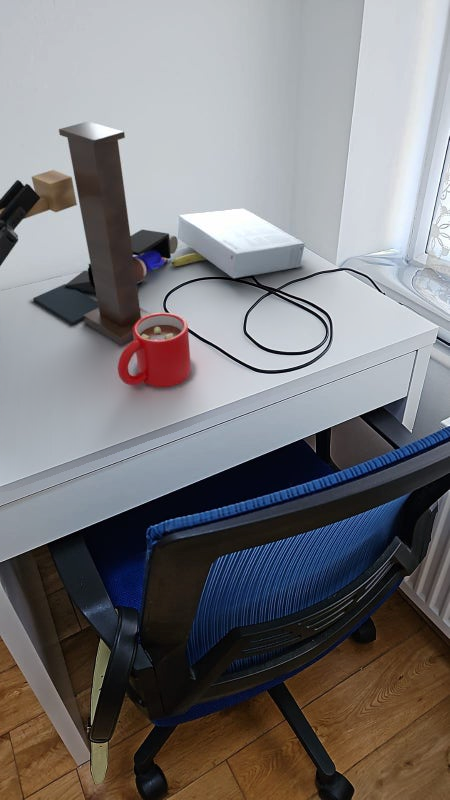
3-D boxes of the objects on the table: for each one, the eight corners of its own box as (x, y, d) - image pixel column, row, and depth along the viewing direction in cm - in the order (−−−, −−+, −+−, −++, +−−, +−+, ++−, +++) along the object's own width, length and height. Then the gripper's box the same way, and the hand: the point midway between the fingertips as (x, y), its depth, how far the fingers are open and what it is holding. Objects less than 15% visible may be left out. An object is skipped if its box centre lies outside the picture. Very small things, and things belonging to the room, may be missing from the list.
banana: (206, 247, 116) (215, 256, 113) (206, 255, 117) (215, 264, 114) (168, 256, 113) (176, 265, 110) (168, 264, 114) (176, 273, 111)
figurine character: (149, 260, 118) (110, 283, 107) (149, 223, 114) (108, 242, 103) (179, 266, 116) (142, 290, 105) (179, 228, 112) (141, 249, 101)
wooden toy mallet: (3, 231, 84) (-5, 201, 81) (-15, 222, 87) (-23, 193, 84) (77, 205, 91) (71, 176, 88) (58, 197, 94) (53, 169, 91)
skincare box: (240, 233, 126) (176, 238, 118) (244, 207, 123) (178, 211, 115) (300, 270, 112) (232, 279, 104) (306, 243, 109) (236, 250, 101)
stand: (122, 345, 93) (89, 144, 73) (84, 323, 98) (44, 130, 78) (159, 325, 97) (137, 130, 77) (121, 304, 103) (92, 117, 83)
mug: (106, 385, 85) (98, 341, 80) (165, 349, 92) (161, 306, 87) (143, 408, 81) (136, 363, 76) (201, 368, 88) (199, 324, 83)
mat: (33, 301, 104) (32, 298, 104) (66, 286, 108) (65, 283, 108) (72, 325, 98) (72, 322, 98) (105, 308, 102) (105, 305, 101)
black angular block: (64, 287, 107) (60, 264, 104) (85, 271, 112) (82, 248, 109) (124, 299, 103) (121, 275, 100) (143, 282, 109) (141, 259, 106)
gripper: (-78, 307, 90) (18, 194, 94) (-31, 343, 82) (72, 218, 86) (-119, 278, 84) (-14, 159, 88) (-73, 314, 76) (41, 181, 80)
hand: (28, 189), depth 87 cm, fingers closed on wooden toy mallet, 2 cm apart
